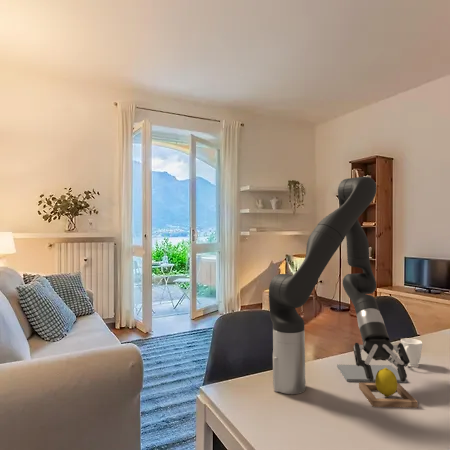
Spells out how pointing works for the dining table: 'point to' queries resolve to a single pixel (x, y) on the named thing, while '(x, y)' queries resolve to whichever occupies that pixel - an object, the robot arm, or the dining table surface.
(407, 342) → the cup
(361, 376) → the mat
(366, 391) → the square seat
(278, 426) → the dining table surface
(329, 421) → the dining table surface
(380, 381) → the lemon
